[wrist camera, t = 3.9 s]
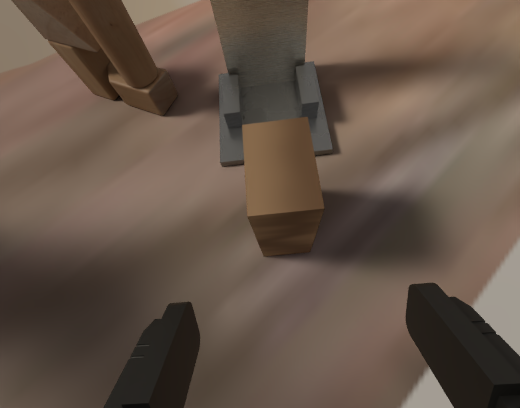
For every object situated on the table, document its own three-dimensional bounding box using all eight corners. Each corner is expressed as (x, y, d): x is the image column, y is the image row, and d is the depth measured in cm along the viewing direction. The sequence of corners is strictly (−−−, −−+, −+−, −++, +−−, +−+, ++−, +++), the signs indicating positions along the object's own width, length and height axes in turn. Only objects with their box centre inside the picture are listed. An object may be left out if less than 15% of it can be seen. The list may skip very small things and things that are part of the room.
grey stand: (222, 166, 27) (52, -217, 8) (220, 73, 32) (116, -295, 13) (331, 153, 26) (450, -302, 7) (311, 60, 32) (348, -349, 12)
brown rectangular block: (263, 256, 23) (247, 216, 14) (258, 194, 26) (242, 125, 16) (310, 252, 23) (324, 208, 14) (300, 189, 25) (307, 116, 16)
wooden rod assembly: (110, 74, 34) (-56, -152, 18) (180, 95, 32) (61, -148, 15) (92, 95, 33) (-103, -126, 17) (163, 118, 30) (15, -118, 14)
